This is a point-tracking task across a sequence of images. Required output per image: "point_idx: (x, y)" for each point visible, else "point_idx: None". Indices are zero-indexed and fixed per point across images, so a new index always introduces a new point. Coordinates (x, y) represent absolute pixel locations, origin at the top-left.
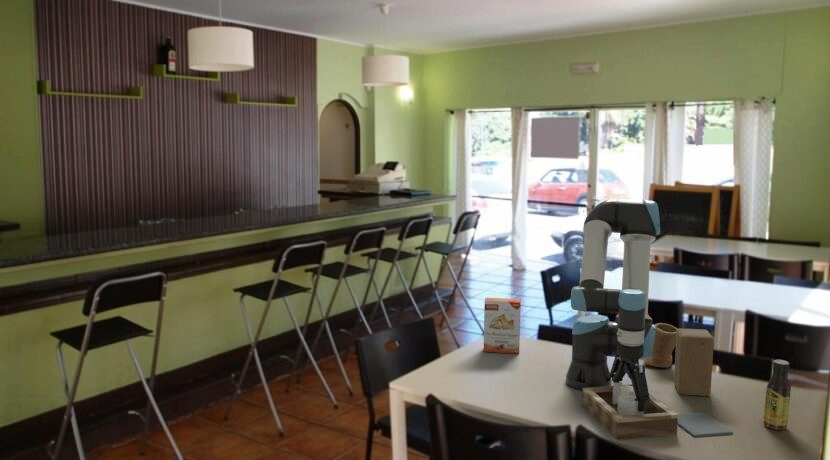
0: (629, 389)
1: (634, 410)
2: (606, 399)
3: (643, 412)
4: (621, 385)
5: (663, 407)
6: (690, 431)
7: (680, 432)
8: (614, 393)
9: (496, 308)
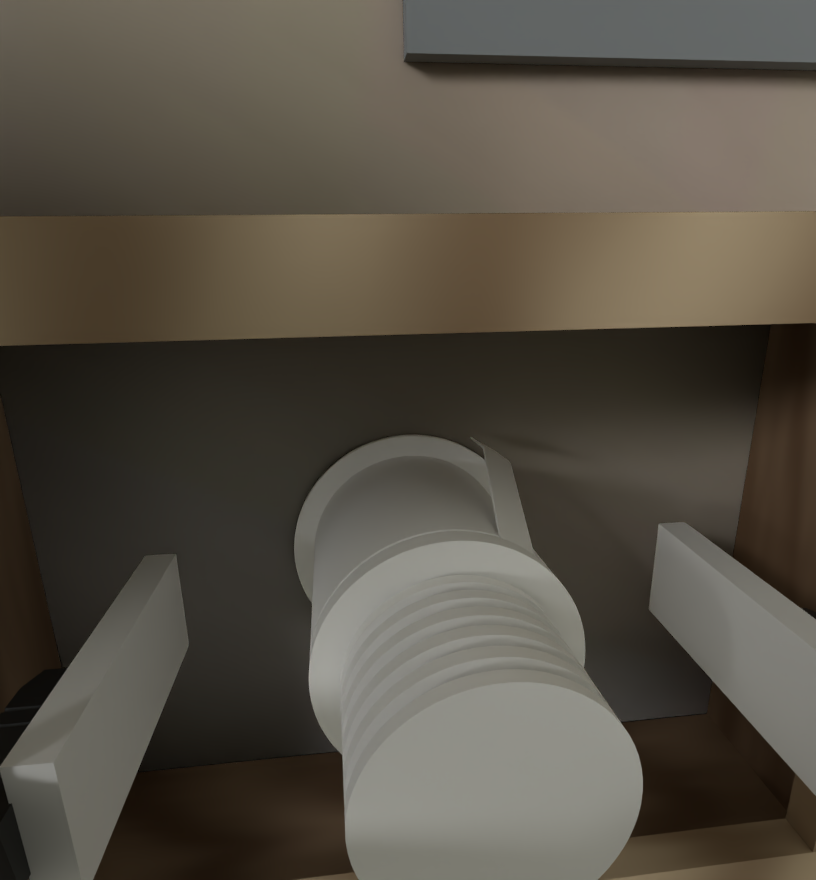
0: (551, 831)
1: (726, 684)
2: (10, 649)
3: (746, 575)
4: (78, 736)
5: (789, 286)
6: None
7: (785, 155)
8: (148, 733)
9: None
